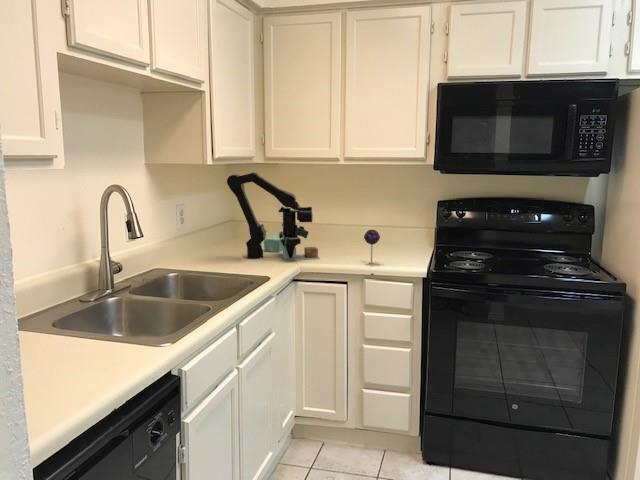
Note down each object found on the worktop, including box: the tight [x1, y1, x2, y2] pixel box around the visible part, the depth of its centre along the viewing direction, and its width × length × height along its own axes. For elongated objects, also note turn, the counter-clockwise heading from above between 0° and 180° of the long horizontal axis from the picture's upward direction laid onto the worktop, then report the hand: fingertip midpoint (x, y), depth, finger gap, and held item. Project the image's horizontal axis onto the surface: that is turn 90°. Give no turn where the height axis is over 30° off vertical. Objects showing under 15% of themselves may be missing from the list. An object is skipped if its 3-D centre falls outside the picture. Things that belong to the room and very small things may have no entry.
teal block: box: [282, 246, 297, 260], centre depth 238 cm, size 5×5×5 cm
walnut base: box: [304, 246, 319, 258], centre depth 241 cm, size 5×5×4 cm
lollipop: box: [363, 229, 381, 265], centre depth 231 cm, size 7×7×15 cm
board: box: [280, 253, 321, 262], centre depth 240 cm, size 16×12×1 cm
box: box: [263, 234, 283, 254], centre depth 257 cm, size 7×14×8 cm, turn 165°
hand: (289, 256), depth 239 cm, fingers closed on teal block, 5 cm apart
